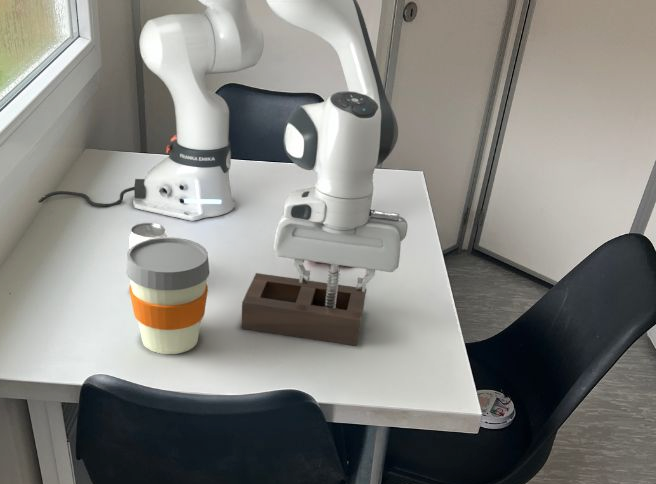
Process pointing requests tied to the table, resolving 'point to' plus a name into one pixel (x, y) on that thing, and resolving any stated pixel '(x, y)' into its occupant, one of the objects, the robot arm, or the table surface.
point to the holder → (302, 309)
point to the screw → (332, 286)
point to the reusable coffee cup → (168, 292)
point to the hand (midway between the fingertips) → (332, 286)
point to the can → (146, 232)
